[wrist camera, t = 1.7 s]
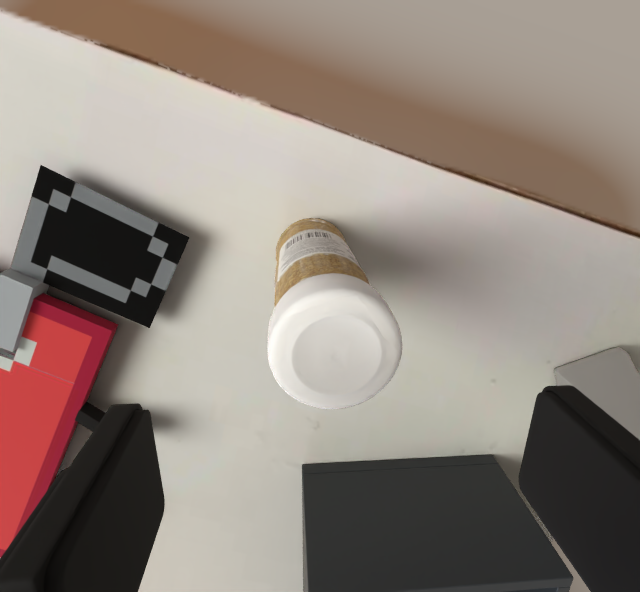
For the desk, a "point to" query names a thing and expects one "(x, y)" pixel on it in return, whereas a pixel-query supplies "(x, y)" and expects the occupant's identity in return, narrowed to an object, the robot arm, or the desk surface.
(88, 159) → the desk surface
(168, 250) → the red board with handle
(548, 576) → the wastebin
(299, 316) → the sprinkles bottle
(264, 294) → the desk surface
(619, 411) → the vintage mobile phone
